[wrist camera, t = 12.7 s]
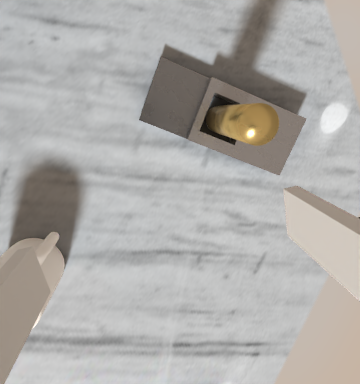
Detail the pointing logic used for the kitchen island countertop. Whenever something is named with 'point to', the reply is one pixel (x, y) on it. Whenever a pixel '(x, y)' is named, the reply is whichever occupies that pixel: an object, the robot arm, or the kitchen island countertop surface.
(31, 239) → the mug
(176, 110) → the slotted metal plate
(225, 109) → the pin
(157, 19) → the kitchen island countertop surface
